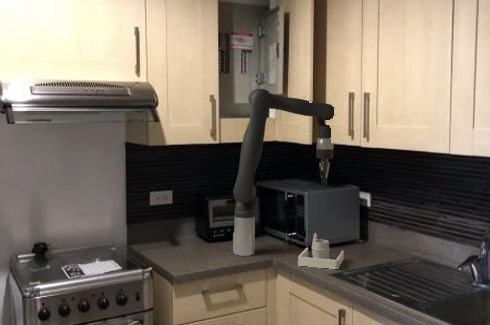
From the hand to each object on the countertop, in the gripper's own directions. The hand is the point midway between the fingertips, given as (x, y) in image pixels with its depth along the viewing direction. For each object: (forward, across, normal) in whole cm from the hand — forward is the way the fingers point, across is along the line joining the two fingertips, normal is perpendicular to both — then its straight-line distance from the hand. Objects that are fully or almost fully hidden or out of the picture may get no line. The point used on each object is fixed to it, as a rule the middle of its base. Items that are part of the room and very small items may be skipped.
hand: (323, 185), depth 249 cm
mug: (+31, +19, +2) cm, 37 cm away
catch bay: (+31, +20, +4) cm, 37 cm away
